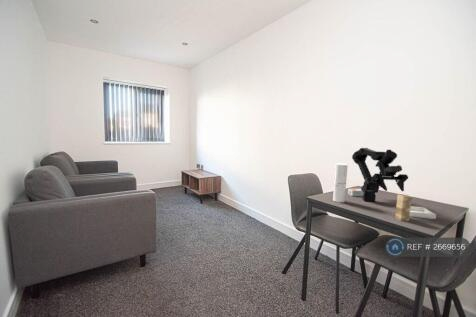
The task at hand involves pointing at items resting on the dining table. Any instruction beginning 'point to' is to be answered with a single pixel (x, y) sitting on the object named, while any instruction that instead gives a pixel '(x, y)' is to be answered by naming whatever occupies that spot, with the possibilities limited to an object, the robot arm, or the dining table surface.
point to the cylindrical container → (340, 182)
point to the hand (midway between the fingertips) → (394, 190)
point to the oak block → (403, 207)
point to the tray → (421, 213)
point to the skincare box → (355, 192)
